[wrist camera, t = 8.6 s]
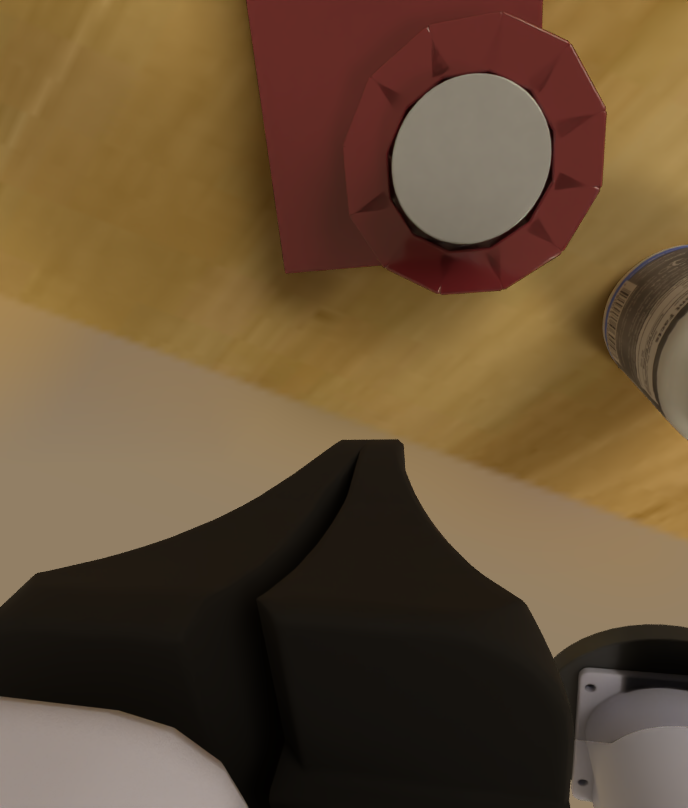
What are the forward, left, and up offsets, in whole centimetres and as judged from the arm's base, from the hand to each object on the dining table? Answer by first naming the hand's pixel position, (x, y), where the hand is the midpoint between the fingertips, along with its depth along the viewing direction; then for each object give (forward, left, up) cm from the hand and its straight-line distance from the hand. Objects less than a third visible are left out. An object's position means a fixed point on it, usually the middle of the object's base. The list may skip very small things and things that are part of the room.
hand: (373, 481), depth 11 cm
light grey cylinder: (+6, -2, -6) cm, 9 cm away
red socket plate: (+10, 0, -9) cm, 13 cm away
